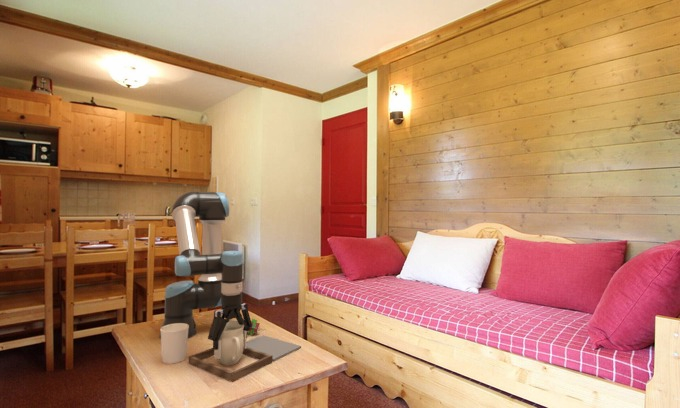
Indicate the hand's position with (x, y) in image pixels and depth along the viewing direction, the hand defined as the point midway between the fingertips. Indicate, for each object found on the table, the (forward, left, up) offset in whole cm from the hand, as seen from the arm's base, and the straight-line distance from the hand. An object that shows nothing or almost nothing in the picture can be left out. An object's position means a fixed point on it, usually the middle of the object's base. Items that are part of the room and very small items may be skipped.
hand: (230, 352), depth 132 cm
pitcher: (0, 0, -4) cm, 4 cm away
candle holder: (-20, -10, -4) cm, 23 cm away
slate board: (+1, +18, -4) cm, 18 cm away
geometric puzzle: (-17, +26, -4) cm, 31 cm away
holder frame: (0, 0, -4) cm, 4 cm away
